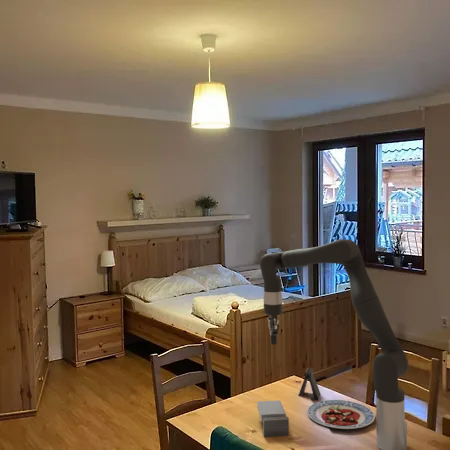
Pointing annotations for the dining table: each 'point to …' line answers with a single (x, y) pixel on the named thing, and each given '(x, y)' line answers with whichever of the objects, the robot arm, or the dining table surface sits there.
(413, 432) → the dining table surface
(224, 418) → the dining table surface
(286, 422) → the bar
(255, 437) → the dining table surface
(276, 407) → the slab
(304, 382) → the grey a-frame stand
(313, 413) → the ceramic plate
